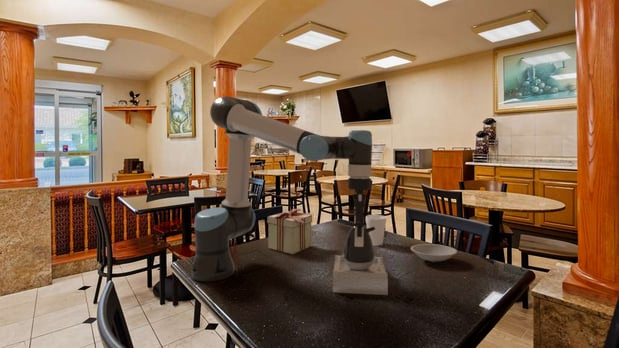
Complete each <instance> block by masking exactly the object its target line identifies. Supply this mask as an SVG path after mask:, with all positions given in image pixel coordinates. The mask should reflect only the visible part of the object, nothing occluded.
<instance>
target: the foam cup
mask: <svg viewBox="0 0 619 348" xmlns="http://www.w3.org/2000/svg"><path fill="white" fill-rule="evenodd" d="M365 223H366V228H371V227H375V230H373V231H371V232H369V234H370V237H371V240H372V244H373V247H380V246H379V245H381V246H383V243H384V237H385V231H386V228H385V227H386V223H387V217H386V216H385V215H381V214H379V215H378V214H368V215H366V216H365Z"/></svg>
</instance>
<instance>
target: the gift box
mask: <svg viewBox="0 0 619 348" xmlns="http://www.w3.org/2000/svg"><path fill="white" fill-rule="evenodd" d="M299 211H301V208H300V209H299V208H292V209H291V210H289V211H284V212H281V213H276V214H273V215H268V216H267V220H266V222H267V224H268V230H267V231H268V237H267V238H268V245H267V246H268V249H271V250H274V251H278V252H282V253H285V254H289V255H295V254H297V253H298V252H301V251H304V250H305V249H308V248H310V247H312V223H313V214H310V213H306V212H304V213H303V212H302V213H301V212H299Z"/></svg>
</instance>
